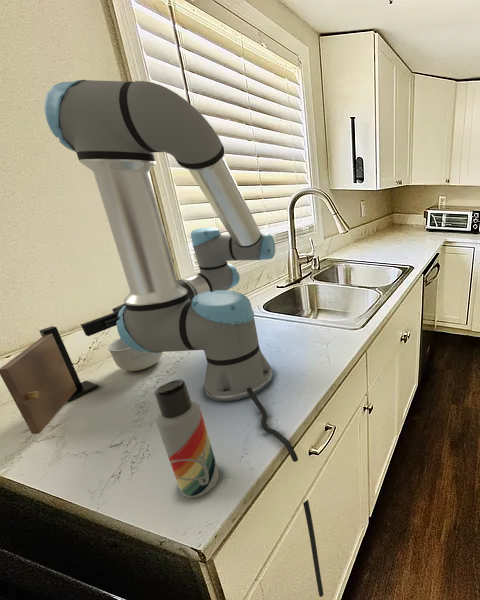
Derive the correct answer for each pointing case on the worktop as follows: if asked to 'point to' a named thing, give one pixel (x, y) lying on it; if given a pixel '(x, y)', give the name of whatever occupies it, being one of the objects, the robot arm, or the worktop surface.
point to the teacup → (131, 356)
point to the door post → (69, 365)
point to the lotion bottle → (185, 439)
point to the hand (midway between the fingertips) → (84, 330)
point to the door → (39, 382)
